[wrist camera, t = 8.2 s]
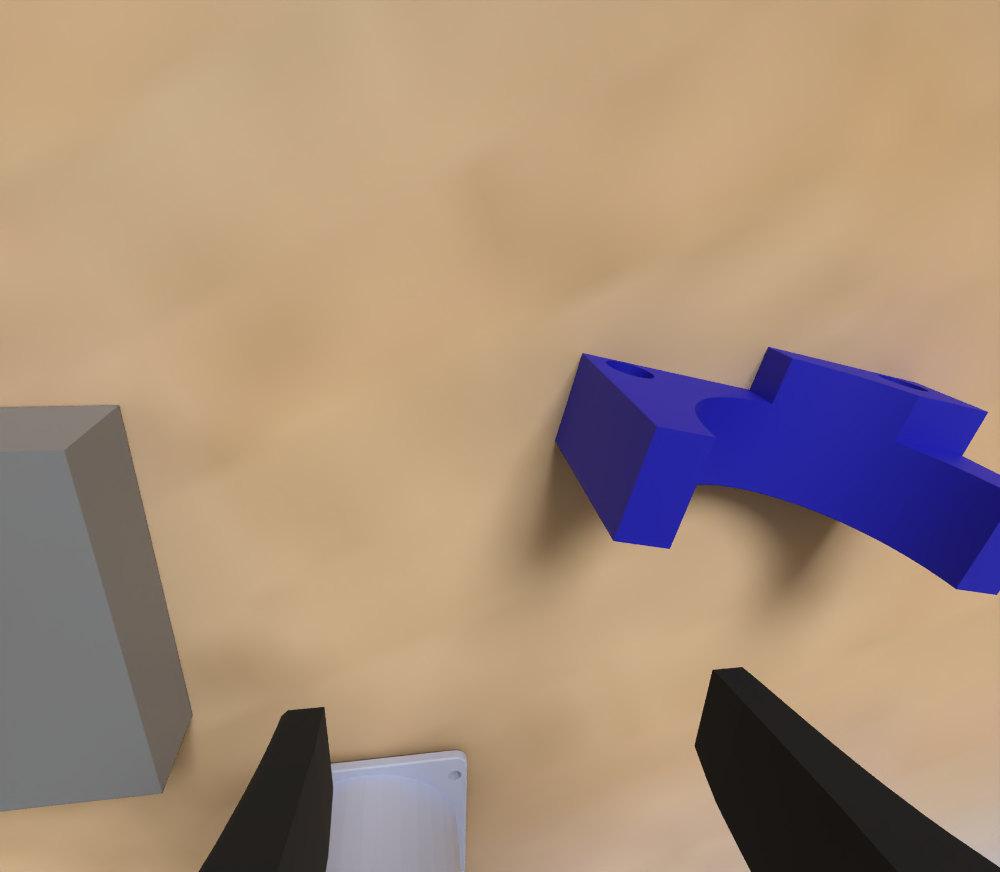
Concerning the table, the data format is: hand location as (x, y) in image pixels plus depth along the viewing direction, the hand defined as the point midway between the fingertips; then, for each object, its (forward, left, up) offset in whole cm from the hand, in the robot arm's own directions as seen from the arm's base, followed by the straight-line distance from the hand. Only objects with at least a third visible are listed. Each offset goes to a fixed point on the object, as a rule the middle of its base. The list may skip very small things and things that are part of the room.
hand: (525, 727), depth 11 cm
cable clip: (+2, -9, -10) cm, 14 cm away
